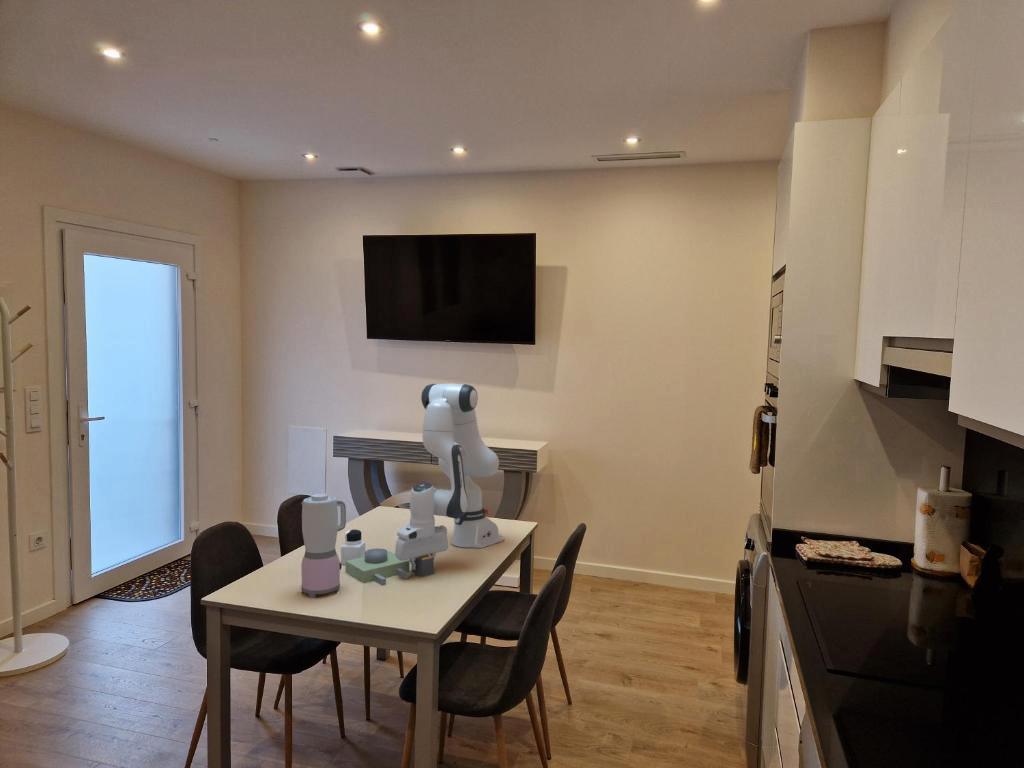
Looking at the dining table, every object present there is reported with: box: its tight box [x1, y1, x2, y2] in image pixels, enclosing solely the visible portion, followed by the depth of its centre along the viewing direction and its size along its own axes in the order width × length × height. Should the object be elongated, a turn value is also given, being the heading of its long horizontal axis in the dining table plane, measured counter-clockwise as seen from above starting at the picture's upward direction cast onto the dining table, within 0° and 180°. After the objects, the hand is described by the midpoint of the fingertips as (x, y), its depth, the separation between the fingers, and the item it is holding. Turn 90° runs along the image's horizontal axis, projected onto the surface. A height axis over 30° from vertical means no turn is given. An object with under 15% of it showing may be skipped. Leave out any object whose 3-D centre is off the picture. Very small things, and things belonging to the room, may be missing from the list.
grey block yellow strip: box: [410, 554, 435, 578], centre depth 239 cm, size 5×7×7 cm
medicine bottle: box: [340, 529, 366, 566], centre depth 250 cm, size 7×7×12 cm
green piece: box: [344, 548, 410, 586], centre depth 238 cm, size 18×20×7 cm
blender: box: [300, 493, 347, 599], centre depth 222 cm, size 16×12×32 cm
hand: (422, 567), depth 240 cm, fingers closed on grey block yellow strip, 5 cm apart
